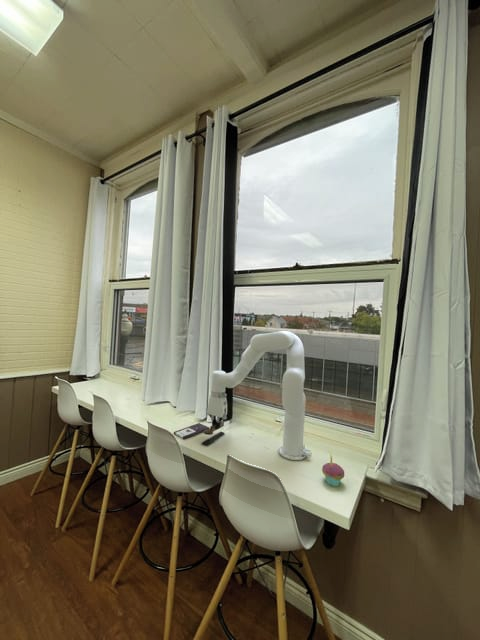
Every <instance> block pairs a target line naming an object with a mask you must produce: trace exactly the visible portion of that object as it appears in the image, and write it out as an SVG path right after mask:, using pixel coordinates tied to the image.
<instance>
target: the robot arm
mask: <svg viewBox="0 0 480 640" xmlns="http://www.w3.org/2000/svg"><path fill="white" fill-rule="evenodd" d="M283 350H286V370H285V371H284V373H283V376H282V381H281V382H282V383H281V386H282V387H281V393H282V394H281V403H282V408H283V410H284V417H283V419H284V420H283V421H284V422H283V437H282V446H281V447H280V448H279V454H280V456H281V457H283V458H284V459H288V460H290V461H291V460H292V461H301V460H304V459H305V458H306V456H307V457H310V458H311V457H312V454H313V453H312V452H311V449H308V448H306V445H305V444H304V436H305V433H304V432H305V418H306V417H305V416H306V406H307V405H306V403H307V398H306V397H307V396H306V394H305V392H304V389H305V388H304V385H305V381H306V373H305V371H306V370H305V348H304V344H303V342H302V340H301V339H300V337H299V336H298V335H297V334H295V333H293V332H292V331H289V330H281V331H275V332H268V333H258V334H254V335H253V336H252V337H251V339H250V341H249V345H248V346H247V348H246V349H244V351H243V352H242V354H241V356H240V357H241V359H240V361H239V363H238V364H237V366H236V367H235V368H234V369H233V370H232V371H231V372H226V371H224V370H213V371H212V372H211V373H212V374H211V386H210V387H211V388H210V395H209V397H208V402H207V403H208V404H207V413H206V414H207V416H209V418H210V419H211V426H212V425H214V424H216V430H215V431H217V430H219V429H221V428H220V423H221V421H225V420H227V419H228V418H227V415H228V400H227V396H228V394H227V393H226V388H227V389H232V388H235V387H236V386H238V385H240V384H241V383H242V382H243V381H244V380H245V379H246V377H247V376H248V375H249V373H250V372H251V371H252V370H253V368H254V367H255V366H256V364H257V362H258V361H260V360H261V358H262V357H263V356H264V354H265V353H266V352H272V351H273V352H274V351H283Z"/></svg>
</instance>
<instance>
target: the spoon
mask: <svg viewBox="0 0 480 640" xmlns="http://www.w3.org/2000/svg"><path fill="white" fill-rule="evenodd" d="M223 427H225V420H222V421H221V423H220V428H219V429H221V428H223ZM209 428H210V429H205V430H204V432H203V434H204V435H205V436H213V435H214V432H215V431H217V430H216V424H214V425H212V424H211V425H210V427H209Z"/></svg>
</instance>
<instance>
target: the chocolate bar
mask: <svg viewBox="0 0 480 640" xmlns="http://www.w3.org/2000/svg"><path fill="white" fill-rule="evenodd" d="M205 429H210V427H209V426H207V425H205V424H202V423H200V422H198V423H195V424H191V425H189V426H187V427H184V428H181V429H177V430H176V431H173V434H174V435H175V436H178V437H180V439H181V438H182V439H183V440H185V439H188V438H191V437H194V436H196V435H198V434H199V435H200V434H201V433H204V430H205Z"/></svg>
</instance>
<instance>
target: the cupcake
mask: <svg viewBox="0 0 480 640" xmlns="http://www.w3.org/2000/svg"><path fill="white" fill-rule="evenodd" d="M329 457H330V458H329V460H330V462H327V463H324V464H323V465H322V469H321V471H322V474H323V475H324V477H325V482H326V483H327V484H328V485H330V486H332V487H337V486H339V485H340V482H341V481H342V479H344V478H345V470H344V469H343V468H342V466H340V465H339V464H337V463H335V462H333V456H332V454H330V455H329Z"/></svg>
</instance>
